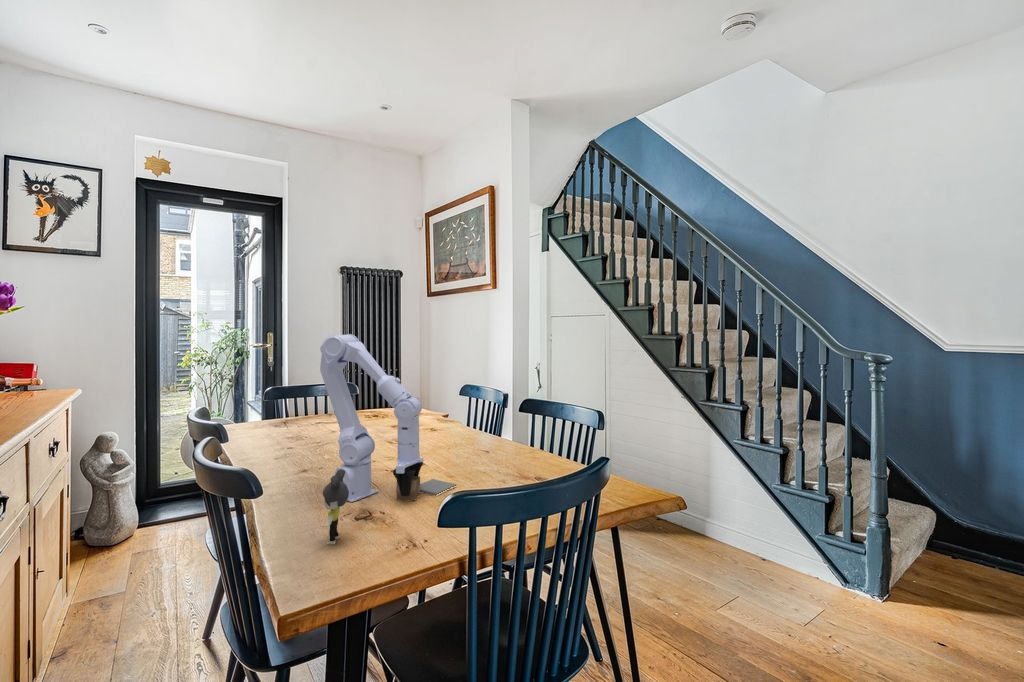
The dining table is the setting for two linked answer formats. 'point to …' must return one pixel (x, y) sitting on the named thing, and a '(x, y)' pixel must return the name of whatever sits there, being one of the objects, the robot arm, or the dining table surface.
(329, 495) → the toy
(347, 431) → the robot arm
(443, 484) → the slate coaster
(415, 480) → the walnut block
